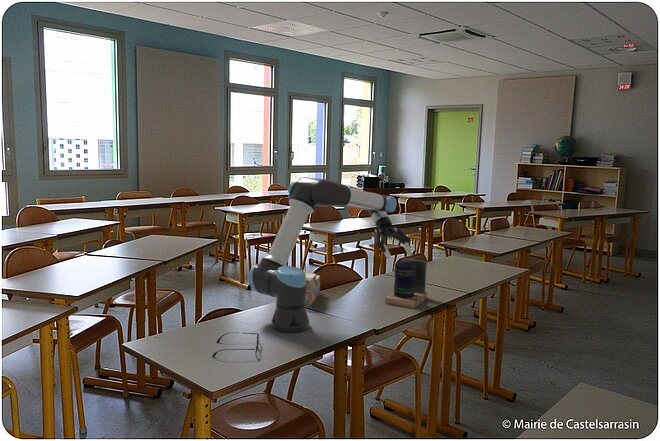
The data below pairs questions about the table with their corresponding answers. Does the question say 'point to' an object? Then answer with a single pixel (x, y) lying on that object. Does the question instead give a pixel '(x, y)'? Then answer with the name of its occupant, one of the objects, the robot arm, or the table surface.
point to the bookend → (419, 274)
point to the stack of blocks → (312, 288)
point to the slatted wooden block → (407, 300)
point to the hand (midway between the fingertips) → (400, 256)
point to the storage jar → (404, 279)
